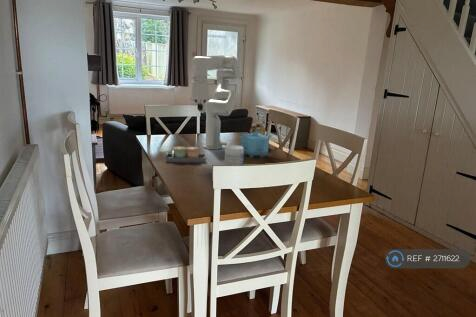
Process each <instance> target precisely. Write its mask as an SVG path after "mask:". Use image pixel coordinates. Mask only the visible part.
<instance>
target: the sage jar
mask: <svg viewBox="0 0 476 317" xmlns="http://www.w3.org/2000/svg"><path fill="white" fill-rule="evenodd" d="M173 150H174V157H180V158H186V154H187V147H186V146H174V147H173Z"/></svg>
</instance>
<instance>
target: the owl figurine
mask: <svg viewBox="0 0 476 317" xmlns="http://www.w3.org/2000/svg"><path fill="white" fill-rule="evenodd" d="M253 132H258V133H259V134H262V135H264V136H266V128H265V127H264V125H263V123H262V122H260V121H258V122H256V123H253V124H252V125H251V128H250V130H249V133H248V134H253Z"/></svg>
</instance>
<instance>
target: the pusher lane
mask: <svg viewBox="0 0 476 317" xmlns="http://www.w3.org/2000/svg"><path fill="white" fill-rule="evenodd" d="M165 163H206V155H205V153H199V158H187V153H186V158H180V157H172V152H171V153H169V151H166V154H165Z"/></svg>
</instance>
